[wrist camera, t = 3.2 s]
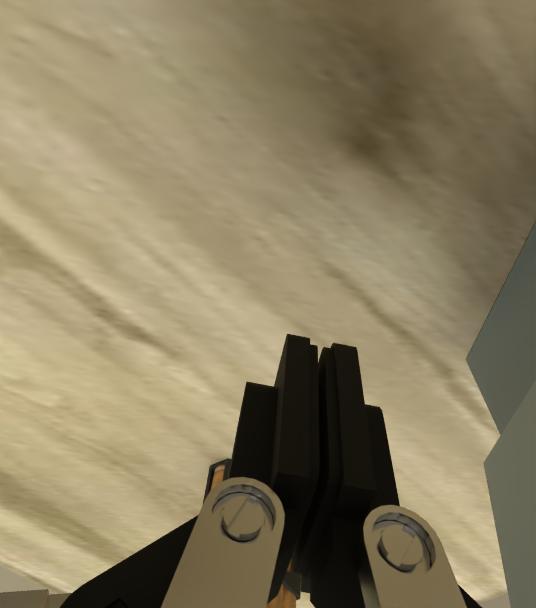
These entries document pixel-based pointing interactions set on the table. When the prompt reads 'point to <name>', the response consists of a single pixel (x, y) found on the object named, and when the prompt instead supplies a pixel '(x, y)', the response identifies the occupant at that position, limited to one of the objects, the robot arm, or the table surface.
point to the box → (509, 341)
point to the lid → (516, 501)
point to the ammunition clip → (291, 585)
